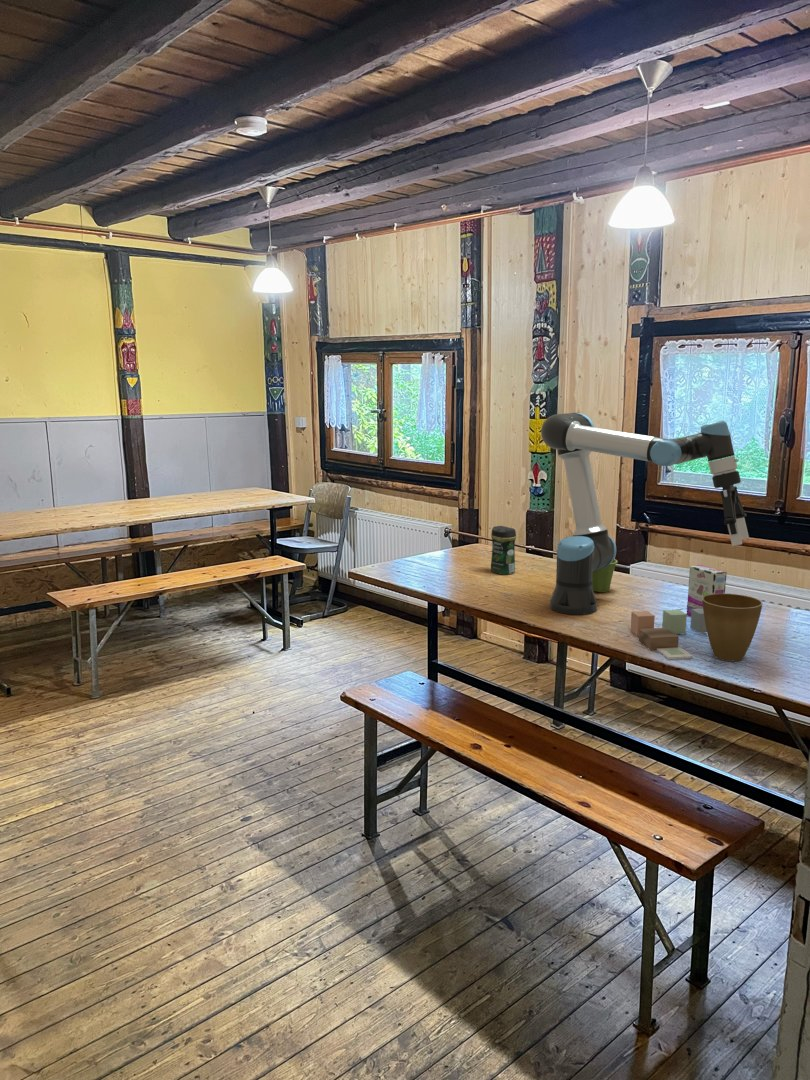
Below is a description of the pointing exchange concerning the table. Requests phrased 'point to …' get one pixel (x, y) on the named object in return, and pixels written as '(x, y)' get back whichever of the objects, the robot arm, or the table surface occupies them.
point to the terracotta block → (641, 621)
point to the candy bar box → (704, 585)
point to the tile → (674, 653)
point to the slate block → (698, 620)
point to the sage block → (674, 621)
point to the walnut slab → (658, 638)
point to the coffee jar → (503, 550)
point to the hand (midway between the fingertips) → (740, 542)
